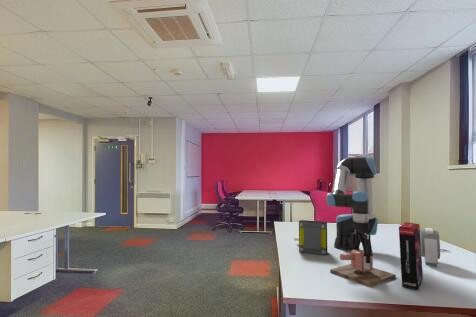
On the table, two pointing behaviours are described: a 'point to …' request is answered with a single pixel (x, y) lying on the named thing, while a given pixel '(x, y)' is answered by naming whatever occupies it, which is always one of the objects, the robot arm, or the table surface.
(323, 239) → the electrical component
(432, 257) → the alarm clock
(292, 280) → the table surface
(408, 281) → the graphics card box
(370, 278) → the base
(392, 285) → the table surface
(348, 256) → the cap
